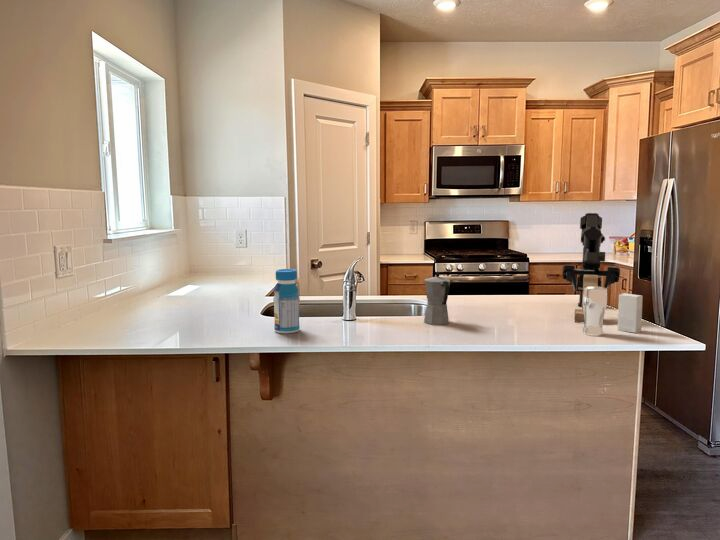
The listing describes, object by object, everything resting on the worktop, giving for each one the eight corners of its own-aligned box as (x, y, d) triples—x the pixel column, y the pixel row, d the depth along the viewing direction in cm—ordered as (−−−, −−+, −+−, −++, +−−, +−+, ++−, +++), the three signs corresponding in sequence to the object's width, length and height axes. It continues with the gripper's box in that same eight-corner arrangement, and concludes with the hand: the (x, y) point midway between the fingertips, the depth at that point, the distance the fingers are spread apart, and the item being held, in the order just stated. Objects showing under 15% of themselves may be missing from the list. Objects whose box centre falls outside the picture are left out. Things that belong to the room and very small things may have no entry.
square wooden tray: (574, 316, 188) (575, 308, 188) (601, 319, 185) (601, 310, 184) (574, 322, 180) (574, 313, 180) (602, 324, 177) (603, 315, 176)
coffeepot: (417, 319, 184) (417, 269, 182) (441, 317, 186) (442, 268, 184) (434, 329, 169) (435, 275, 167) (459, 327, 172) (461, 274, 169)
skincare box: (641, 331, 167) (644, 295, 165) (635, 333, 164) (638, 296, 162) (622, 328, 172) (624, 292, 170) (616, 330, 169) (618, 294, 167)
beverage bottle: (289, 335, 161) (288, 272, 158) (268, 331, 165) (267, 270, 162) (305, 329, 168) (304, 269, 165) (284, 326, 172) (283, 267, 169)
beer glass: (603, 337, 159) (606, 290, 157) (579, 334, 163) (582, 288, 161) (606, 332, 165) (609, 287, 163) (582, 330, 169) (585, 285, 167)
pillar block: (581, 310, 185) (583, 274, 183) (595, 311, 183) (597, 275, 182) (581, 312, 181) (584, 275, 179) (595, 313, 179) (598, 276, 177)
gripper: (564, 242, 186) (562, 276, 178) (621, 244, 179) (621, 279, 170) (563, 262, 194) (561, 295, 186) (618, 264, 187) (618, 299, 179)
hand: (589, 292), depth 180 cm, fingers open, 9 cm apart
